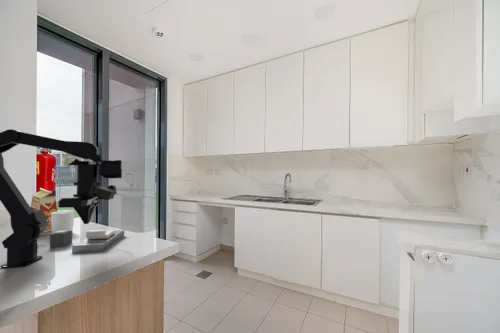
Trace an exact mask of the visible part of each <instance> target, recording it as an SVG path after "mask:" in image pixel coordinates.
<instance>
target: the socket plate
mask: <svg viewBox="0 0 500 333" xmlns="http://www.w3.org/2000/svg"><path fill="white" fill-rule="evenodd" d="M124 236H125V230H124V229H120V230H118V229H117V230H115V233H114V234H113V235H111V236H110V237H108V238H102V239H87V237H86V238H83V239H82V240H80V241H79V242H76V243H75V244H73V245H71V253H72V254H75V253H95V252H105V251H106V250H108V249H109V248H111V247H112V246H113V245H114V244H115V243H117V242H118V241H120V239H122V238H123V237H124Z"/></svg>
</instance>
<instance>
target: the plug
mask: <svg viewBox="0 0 500 333" xmlns="http://www.w3.org/2000/svg"><path fill="white" fill-rule="evenodd" d="M72 243H73V232H72V230H59V231H57V232H54V233H52V232H51V234H49V248H50V249H51V248H52V249H53V248H65V247H67V246H68V245H71V244H72Z"/></svg>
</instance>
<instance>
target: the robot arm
mask: <svg viewBox="0 0 500 333" xmlns="http://www.w3.org/2000/svg"><path fill="white" fill-rule="evenodd" d="M18 145H24V146H25V145H26V146H30V147H31V146H32V147H36V148H39V149H40V148H42V149H47V150H50V151H51V150H52V151H57V152H63V153H65V154H69V155H71V156H74V157H76V158H75V159H74V160H73V161H72V162H70V163H69V166H70V167H71V166H73V167H76V181H74V182H73V186H76V193H74V194H72V195H73V196H67V197H61V198H60V199H59V200H58V201H57V208H58V209H60V208H72V209H74V212H76V213H77V215H78V216H79V218H80V220H81V221H82V223H83V224H84V225H89V224H90V222H91V219H92V217H93V214H94V210H95V209H96V207H98V206H99V205H100V204H101V203H102V201H98V200H104V201H109V200H113V199H114V198H115V195H117V194H118V191H117V187H116V185H113V184H110V185H108V186H103V185H102V183H101V181H100V180H99V178H98V176H100V177H102V178H103V179H105V180H106V179H123V164H122V161H123V160H121V159H115V160H107V159H106V160H105V158H104V157H102V156H101V154H100V149H99V148H98V146H97V145H95V144H93V143H91V142H89V141H88V142H87V141H71V140H70V141H69V140H61V139H56V138H52V137H48V136H47V137H46V136H43V135H37V134H32V133H28V132H22V131H19V130H17V129H13V128H12V129H11V128H10V129H6V130H3V131H0V203H1V204H2V206H3V207H4V209H5V210H6V212H8V214H9V216H10V227H11V230H12V233H11V234H10V235H9V236H7V237H6V238H5V239H4V240H2V242H1V244H2V246H3V248H4V249H6V263H4V264H2V265H0V267H3V266H10V267H9V268H18V267H27V266H29V265H30V264H32V263H34V262H37V261H38V260H40V259H42V258H43V255H38V246H39V245H38V238H39V237H40V235H41V234H42V233H44V232H43V231H45V230H46V228H47V226H48V222H47V220H48V219H49V218H47V217H46V216H45V215H44V212H43V210H42V209H40V210H38V211H35V210H34V209H32V208H31V205H30V204H29V203H28V202H27V200H26V199H25V197H24V195H23V194H22V193H21V191H20V190H19V188H18V187H17V186H16V184H15V182H14V181H13V179H12V177H11V176H10V174H9V173H8V172H7V170H6V168H5V163H4V161H5V160H4V157H3V154H4V153H5V152H8V151H10V150H11V149H13V148H15V147H17V146H18ZM79 158H80V159H83V160H80V159H79ZM91 161H92V162H94V163H93V164H92V163H91ZM98 163H101V164H98ZM98 180H99V181H98Z"/></svg>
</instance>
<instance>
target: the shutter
mask: <svg viewBox="0 0 500 333" xmlns="http://www.w3.org/2000/svg"><path fill="white" fill-rule="evenodd" d="M115 231H116V229H98V230H96V229H95V230H94V229H93V230H86V232H85V237H86V238H87V239H102V238H108V237H110V236H111V235H113V234H114V233H115Z"/></svg>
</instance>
